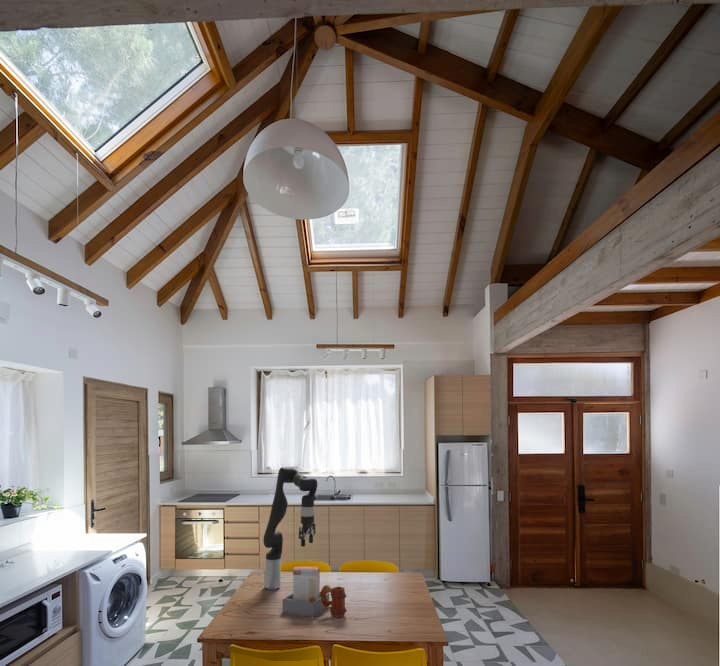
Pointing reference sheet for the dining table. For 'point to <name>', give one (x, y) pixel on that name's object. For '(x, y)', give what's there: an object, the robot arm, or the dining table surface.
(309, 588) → the cracker box
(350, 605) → the dining table surface
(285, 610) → the bin
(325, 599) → the mug
